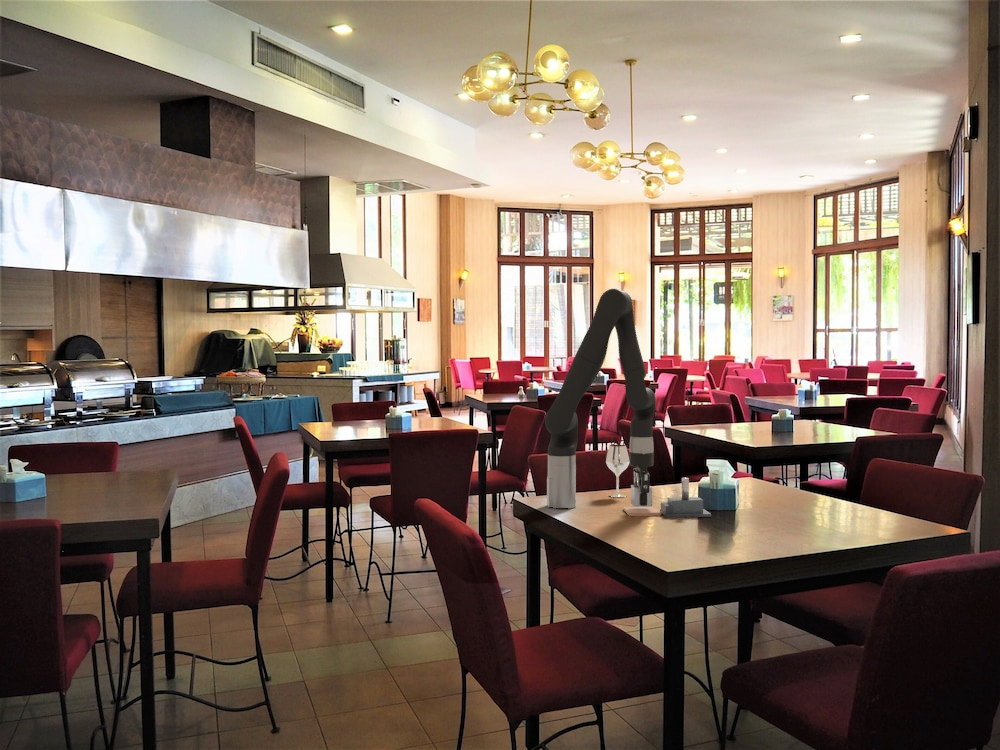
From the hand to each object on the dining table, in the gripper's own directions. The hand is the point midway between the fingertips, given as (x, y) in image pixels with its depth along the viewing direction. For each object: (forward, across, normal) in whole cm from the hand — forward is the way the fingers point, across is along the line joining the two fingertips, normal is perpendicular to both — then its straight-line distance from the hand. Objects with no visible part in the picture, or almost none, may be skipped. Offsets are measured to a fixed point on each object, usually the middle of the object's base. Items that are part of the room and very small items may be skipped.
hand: (641, 503), depth 270 cm
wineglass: (+3, -30, -2) cm, 30 cm away
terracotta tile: (+3, 0, 0) cm, 3 cm away
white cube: (0, 0, 0) cm, 1 cm away
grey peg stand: (+3, +4, +13) cm, 14 cm away
